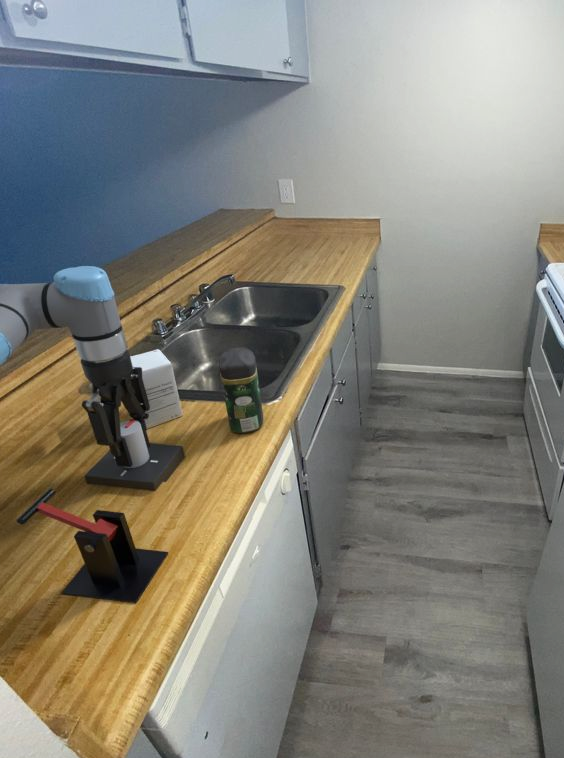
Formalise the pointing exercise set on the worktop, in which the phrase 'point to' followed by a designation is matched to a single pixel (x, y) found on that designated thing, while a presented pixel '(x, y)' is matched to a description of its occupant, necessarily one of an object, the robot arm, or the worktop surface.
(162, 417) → the white product box
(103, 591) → the black lever stand
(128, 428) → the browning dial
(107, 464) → the dial panel
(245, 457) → the worktop surface
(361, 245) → the worktop surface
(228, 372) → the coffee jar
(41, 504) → the red lever
